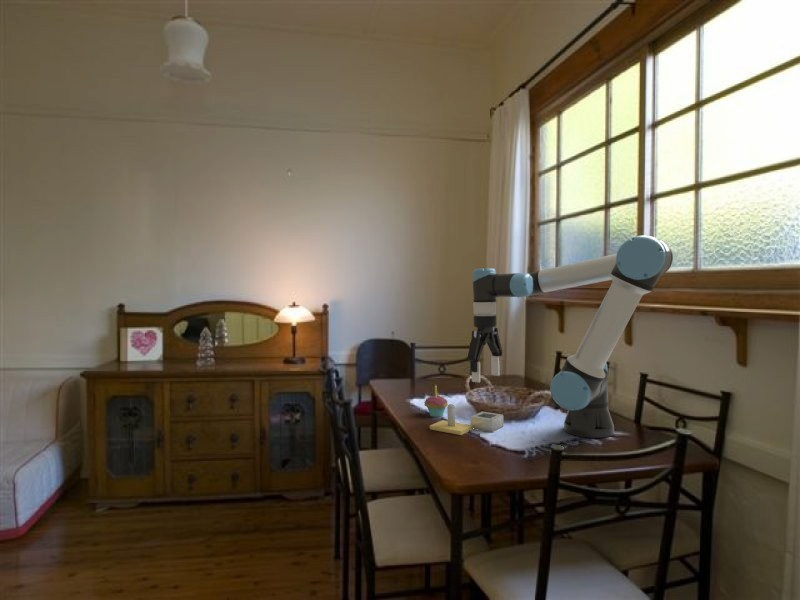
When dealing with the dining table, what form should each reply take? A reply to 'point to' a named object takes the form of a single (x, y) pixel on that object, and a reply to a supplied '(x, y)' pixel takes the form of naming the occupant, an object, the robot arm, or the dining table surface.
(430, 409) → the cupcake
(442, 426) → the keeper post
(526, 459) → the dining table surface
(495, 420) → the beige square box
